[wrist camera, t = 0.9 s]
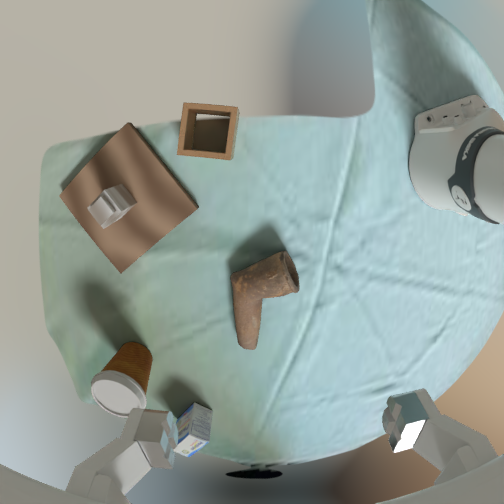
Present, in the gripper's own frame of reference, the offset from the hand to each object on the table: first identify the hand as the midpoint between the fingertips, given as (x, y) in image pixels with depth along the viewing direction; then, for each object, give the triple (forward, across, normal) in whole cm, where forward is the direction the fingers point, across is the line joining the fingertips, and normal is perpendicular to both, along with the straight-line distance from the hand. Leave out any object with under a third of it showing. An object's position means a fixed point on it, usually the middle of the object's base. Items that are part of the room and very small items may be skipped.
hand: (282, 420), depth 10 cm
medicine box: (+36, +15, +41) cm, 56 cm away
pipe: (+36, 0, +14) cm, 39 cm away
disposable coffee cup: (+36, +23, +25) cm, 49 cm away
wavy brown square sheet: (+36, +20, -3) cm, 41 cm away
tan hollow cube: (+36, +6, -11) cm, 38 cm away
